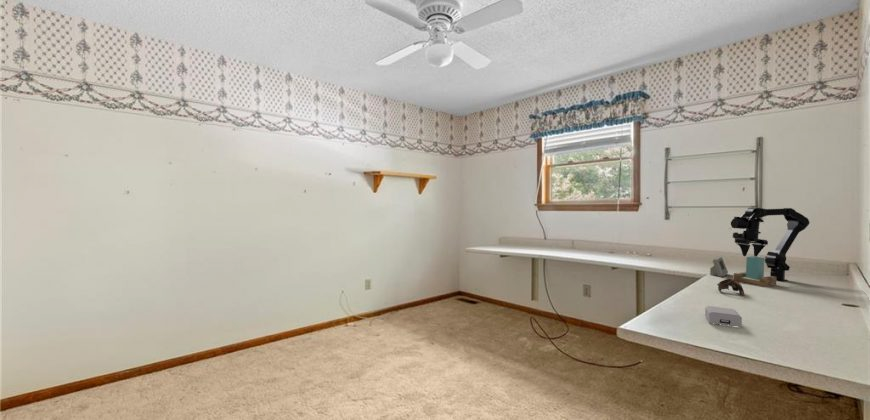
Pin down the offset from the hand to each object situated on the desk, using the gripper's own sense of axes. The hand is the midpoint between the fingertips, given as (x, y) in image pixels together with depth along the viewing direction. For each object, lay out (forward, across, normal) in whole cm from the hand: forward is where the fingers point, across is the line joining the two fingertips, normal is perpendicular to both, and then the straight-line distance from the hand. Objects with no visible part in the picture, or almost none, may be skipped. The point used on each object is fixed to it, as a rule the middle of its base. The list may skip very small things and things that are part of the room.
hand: (749, 256), depth 211 cm
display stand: (+14, +8, +8) cm, 18 cm away
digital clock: (+14, +4, -13) cm, 19 cm away
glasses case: (+11, +8, +8) cm, 16 cm away
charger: (+17, +93, +49) cm, 107 cm away
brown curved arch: (+16, +45, +21) cm, 52 cm away
